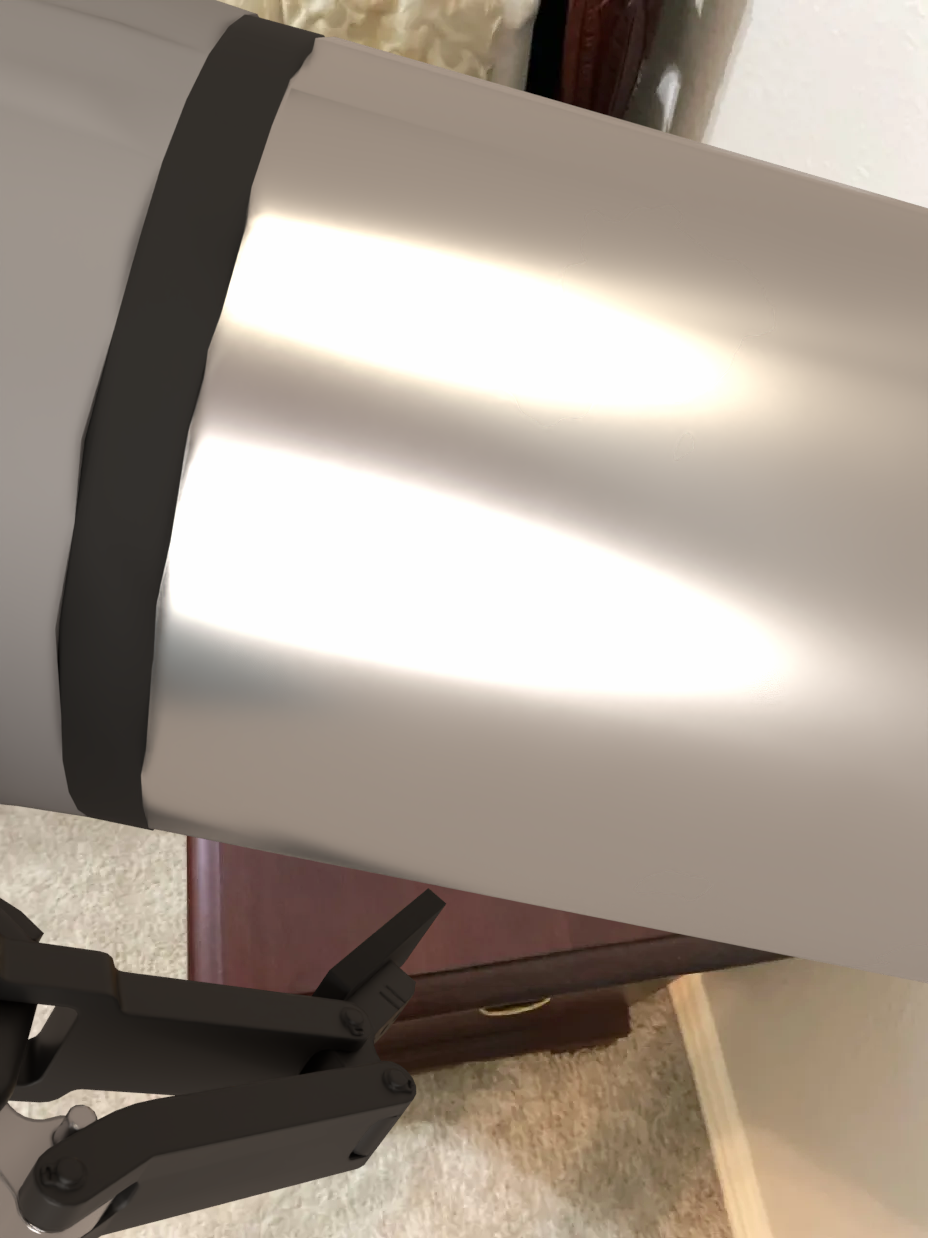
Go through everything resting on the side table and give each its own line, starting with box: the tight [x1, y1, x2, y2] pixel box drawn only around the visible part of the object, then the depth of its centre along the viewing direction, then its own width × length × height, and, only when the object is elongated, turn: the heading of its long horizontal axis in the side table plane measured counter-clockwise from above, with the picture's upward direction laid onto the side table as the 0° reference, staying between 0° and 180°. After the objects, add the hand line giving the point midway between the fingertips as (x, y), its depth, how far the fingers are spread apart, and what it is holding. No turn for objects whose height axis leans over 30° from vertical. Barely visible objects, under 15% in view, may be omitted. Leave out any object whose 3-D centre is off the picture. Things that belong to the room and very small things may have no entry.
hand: (261, 792), depth 36 cm, fingers open, 13 cm apart
